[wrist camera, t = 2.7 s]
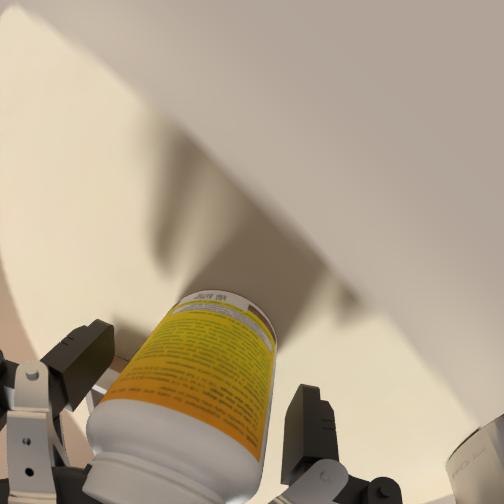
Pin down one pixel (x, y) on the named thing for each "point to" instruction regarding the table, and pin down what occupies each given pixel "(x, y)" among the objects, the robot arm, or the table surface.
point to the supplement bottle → (188, 409)
